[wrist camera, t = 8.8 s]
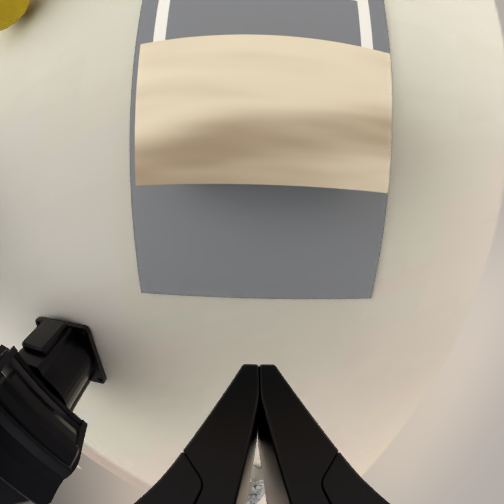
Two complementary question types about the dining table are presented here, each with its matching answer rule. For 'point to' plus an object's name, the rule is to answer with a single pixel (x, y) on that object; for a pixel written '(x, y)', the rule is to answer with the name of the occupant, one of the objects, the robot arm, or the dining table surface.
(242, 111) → the block
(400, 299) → the dining table surface
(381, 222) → the mat
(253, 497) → the egg carton
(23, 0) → the lemon
